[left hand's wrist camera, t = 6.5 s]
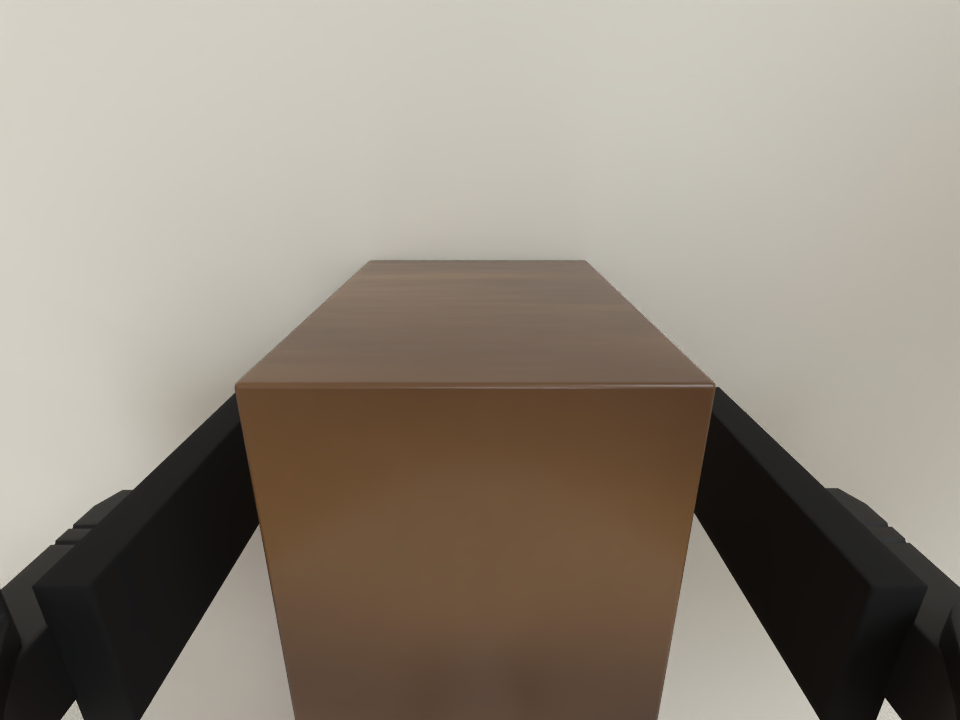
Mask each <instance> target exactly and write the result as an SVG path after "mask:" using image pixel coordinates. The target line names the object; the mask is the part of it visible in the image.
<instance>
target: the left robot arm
mask: <svg viewBox="0 0 960 720" xmlns="http://www.w3.org/2000/svg"><path fill="white" fill-rule="evenodd" d="M694 513H695V515H696V516H697V518H698V520H699V521H700V523H701V525H702V526H703V528H704V530H705V531H706V533H707V535H708V536H709V538H710V540H711V541H712V543H713V544H714V546H715V548H716V549H717V551H718V553H719V554H720V556H721V558H722V559H723V561H724V563H725V564H726V566H727V568H728V569H729V571H730V572H731V574H732V576H733V577H734V579H735V581H736V582H737V584H738V586H739V587H740V589H741V591H742V592H743V594H744V595H745V597H746V599H747V600H748V602H749V604H750V605H751V607H752V609H753V610H754V612H755V614H756V615H757V617H758V619H759V620H760V622H761V623H762V625H763V627H764V628H765V630H766V632H767V633H768V635H769V637H770V638H771V640H772V642H773V643H774V645H775V647H776V648H777V650H778V651H779V653H780V655H781V656H782V658H783V660H784V661H785V663H786V665H787V666H788V668H789V670H790V671H791V673H792V675H793V676H794V678H795V679H796V681H797V683H798V684H799V686H800V688H801V689H802V691H803V693H804V694H805V696H806V698H807V699H808V701H809V703H810V704H811V706H812V707H813V709H814V711H815V712H816V714H817V716H818V717H819V719H820V720H876V719H877V716H878V714H879V711H880V709H881V706H882V704H883V701H884V698H886V699H887V701H888V702H889V703H890V705H891V706H892V707H893V709H894V710H895V711H896V713H897V714H898V715H899V717H900V718H901V719H902V720H960V587H959V586H958V585H956V584H955V583H954V582H953V581H952V580H951V579H950V578H949V577H947V576H946V575H945V574H944V573H943V572H942V571H941V570H940V569H938V568H937V567H936V566H935V565H934V564H933V563H932V562H931V561H930V560H928V559H927V558H926V557H925V556H924V555H923V554H922V553H921V552H919V551H918V550H917V549H916V548H915V547H914V546H913V545H912V544H910V543H906V542H905V538H904V537H903V536H901V535H900V534H899V533H898V532H897V531H896V530H895V529H894V528H892V527H888V525H887V522H886V521H885V520H883V519H882V518H881V517H880V516H879V515H878V514H877V513H876V512H875V511H873V510H872V509H871V508H870V507H869V506H868V505H867V504H865V503H863V502H861V501H860V500H858V499H856V498H854V497H853V496H851V495H849V494H847V493H846V492H844V491H842V490H840V489H838V488H824V487H823V486H822V485H821V484H820V483H819V482H818V481H817V480H816V479H815V478H814V477H813V476H812V475H811V474H810V473H809V472H808V471H806V470H805V469H804V468H803V467H802V466H801V465H800V464H799V463H798V462H797V461H796V460H795V459H794V458H793V457H792V456H791V455H790V454H789V453H788V452H787V451H785V450H784V449H783V448H782V447H781V446H780V445H779V444H778V443H777V442H776V441H775V440H774V439H773V438H772V437H771V436H770V435H769V434H768V433H767V432H765V431H764V430H763V429H762V428H761V427H760V426H759V425H758V424H757V423H756V422H755V421H754V420H753V419H752V418H751V417H750V416H749V415H748V414H747V413H745V412H744V411H743V410H742V409H741V408H740V407H739V406H738V405H737V404H736V403H735V402H734V401H733V400H732V399H731V398H730V397H729V396H728V395H727V394H726V393H724V392H723V391H722V390H721V389H720V388H719V387H716V389H715V395H714V401H713V406H712V412H711V418H710V424H709V429H708V435H707V441H706V446H705V452H704V458H703V463H702V469H701V475H700V480H699V486H698V492H697V497H696V503H695V509H694ZM258 525H259V519H258V513H257V508H256V503H255V497H254V492H253V486H252V481H251V475H250V470H249V464H248V459H247V453H246V448H245V442H244V437H243V431H242V426H241V421H240V415H239V410H238V404H237V399H236V393H234V394H233V395H232V396H231V397H230V398H229V399H228V400H227V401H226V402H225V403H224V404H223V405H222V406H221V407H220V408H219V409H218V410H217V411H216V412H215V413H213V414H212V415H211V416H210V417H209V418H208V419H207V420H206V421H205V422H204V423H203V424H202V425H201V426H200V427H199V428H198V429H197V430H196V431H195V432H193V433H192V434H191V435H190V436H189V437H188V438H187V439H186V440H185V441H184V442H183V443H182V444H181V445H180V446H179V447H178V448H177V449H176V450H175V451H174V452H172V453H171V454H170V455H169V456H168V457H167V458H166V459H165V460H164V461H163V462H162V463H161V464H160V465H159V466H158V467H157V468H156V469H155V470H154V471H152V472H151V473H150V474H149V475H148V476H147V477H146V478H145V479H144V480H143V481H142V482H141V483H140V484H139V485H138V486H137V487H136V488H135V489H134V490H122V491H120V492H118V493H116V494H115V495H113V496H111V497H109V498H108V499H106V500H104V501H102V502H101V503H99V504H97V505H95V506H94V507H93V508H92V509H90V510H89V511H88V512H87V513H86V514H85V515H84V516H83V517H81V518H80V519H79V520H78V521H77V522H76V523H75V524H74V525H73V528H72V529H68V530H67V531H66V532H65V533H64V534H63V535H61V536H60V537H59V538H58V539H57V540H56V543H55V545H50V546H49V547H48V548H47V549H46V550H45V551H44V552H42V553H41V554H40V555H39V556H38V557H37V558H36V559H35V560H34V561H32V562H31V563H30V564H29V565H28V566H27V567H26V568H25V569H24V570H22V571H21V572H20V573H19V574H18V575H17V576H16V577H15V578H13V579H12V580H11V581H10V582H9V583H8V584H7V585H6V586H5V587H3V588H2V589H0V720H61V718H62V717H63V716H64V714H65V713H66V712H67V710H68V709H69V708H70V706H71V705H72V704H73V702H74V701H75V700H76V701H77V704H78V706H79V709H80V711H81V714H82V716H83V719H84V720H140V719H141V717H142V716H143V714H144V712H145V711H146V709H147V707H148V706H149V704H150V703H151V701H152V699H153V698H154V696H155V694H156V693H157V691H158V689H159V688H160V686H161V684H162V683H163V681H164V679H165V678H166V676H167V675H168V673H169V671H170V670H171V668H172V666H173V665H174V663H175V661H176V660H177V658H178V656H179V655H180V653H181V651H182V650H183V648H184V647H185V645H186V643H187V642H188V640H189V638H190V637H191V635H192V633H193V632H194V630H195V628H196V627H197V625H198V624H199V622H200V620H201V619H202V617H203V615H204V614H205V612H206V610H207V609H208V607H209V605H210V604H211V602H212V600H213V599H214V597H215V596H216V594H217V592H218V591H219V589H220V587H221V586H222V584H223V582H224V581H225V579H226V577H227V576H228V574H229V572H230V571H231V569H232V568H233V566H234V564H235V563H236V561H237V559H238V558H239V556H240V554H241V553H242V551H243V549H244V548H245V546H246V544H247V543H248V541H249V540H250V538H251V536H252V535H253V533H254V531H255V530H256V528H257V526H258Z"/></svg>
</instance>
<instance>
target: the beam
mask: <svg viewBox="0 0 960 720" xmlns="http://www.w3.org/2000/svg"><path fill="white" fill-rule="evenodd" d="M715 389H716V386H715V383H714V382H713V381H712V380H711V379H710V378H709V377H708V376H706V375H705V374H704V373H703V372H702V371H701V370H700V369H699V368H698V367H697V366H696V365H695V364H694V363H693V362H692V361H691V360H690V359H689V358H688V357H687V356H685V355H684V354H683V353H682V352H681V351H680V350H679V349H678V348H677V347H676V346H675V345H674V344H673V343H672V342H671V341H670V340H669V339H668V338H667V337H665V336H664V335H663V334H662V333H661V332H660V331H659V330H658V329H657V328H656V327H655V326H654V325H653V324H652V323H651V322H650V321H649V320H648V319H647V318H646V317H644V316H643V315H642V314H641V313H640V312H639V311H638V310H637V309H636V308H635V307H634V306H633V305H632V304H631V303H630V302H629V301H628V300H627V299H626V298H624V297H623V296H622V295H621V294H620V293H619V292H618V291H617V290H616V289H615V288H614V287H613V286H612V285H611V284H610V283H609V282H608V281H607V280H606V279H605V278H603V277H602V276H601V275H600V274H599V273H598V272H597V271H596V270H595V269H594V268H593V267H592V266H591V265H590V264H589V263H588V262H587V261H369V262H368V263H367V264H366V265H365V266H363V267H362V268H361V269H360V270H359V271H358V272H357V273H356V274H355V275H354V276H352V277H351V278H350V279H349V280H348V281H347V282H346V283H345V284H344V285H343V286H342V287H340V288H339V289H338V290H337V291H336V292H335V293H334V294H333V295H332V296H331V297H330V298H328V299H327V300H326V301H325V302H324V303H323V304H322V305H321V306H320V307H319V308H317V309H316V310H315V311H314V312H313V313H312V314H311V315H310V316H309V317H308V318H307V319H305V320H304V321H303V322H302V323H301V324H300V325H299V326H298V327H297V328H296V329H294V330H293V331H292V332H291V333H290V334H289V335H288V336H287V337H286V338H285V339H284V340H282V341H281V342H280V343H279V344H278V345H277V346H276V347H275V348H274V349H273V350H272V351H270V352H269V353H268V354H267V355H266V356H265V357H264V358H263V359H262V360H261V361H259V362H258V363H257V364H256V365H255V366H254V367H253V368H252V369H251V370H250V371H249V372H247V373H246V374H245V375H244V376H243V377H242V378H241V379H240V380H239V381H238V382H237V383H236V384H235V393H236V399H237V404H238V410H239V415H240V421H241V426H242V431H243V437H244V442H245V448H246V453H247V459H248V464H249V470H250V475H251V481H252V486H253V492H254V497H255V503H256V508H257V513H258V519H259V524H260V530H261V535H262V541H263V546H264V552H265V557H266V563H267V568H268V574H269V579H270V585H271V590H272V595H273V601H274V606H275V612H276V617H277V623H278V628H279V634H280V639H281V645H282V650H283V656H284V661H285V666H286V672H287V677H288V683H289V688H290V694H291V699H292V705H293V710H294V716H295V720H657V719H658V714H659V708H660V702H661V696H662V691H663V685H664V679H665V674H666V668H667V662H668V657H669V651H670V645H671V640H672V634H673V628H674V623H675V617H676V611H677V605H678V600H679V594H680V588H681V583H682V577H683V571H684V566H685V560H686V554H687V549H688V543H689V537H690V532H691V526H692V520H693V515H694V509H695V503H696V497H697V492H698V486H699V480H700V475H701V469H702V463H703V458H704V452H705V446H706V441H707V435H708V429H709V424H710V418H711V412H712V406H713V401H714V395H715Z"/></svg>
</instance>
